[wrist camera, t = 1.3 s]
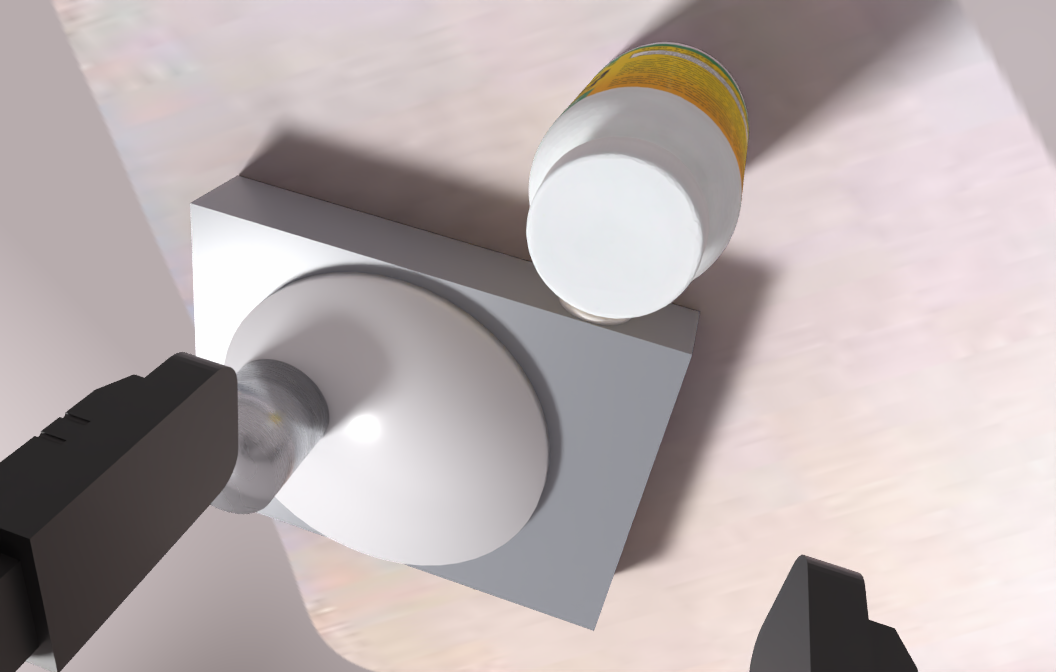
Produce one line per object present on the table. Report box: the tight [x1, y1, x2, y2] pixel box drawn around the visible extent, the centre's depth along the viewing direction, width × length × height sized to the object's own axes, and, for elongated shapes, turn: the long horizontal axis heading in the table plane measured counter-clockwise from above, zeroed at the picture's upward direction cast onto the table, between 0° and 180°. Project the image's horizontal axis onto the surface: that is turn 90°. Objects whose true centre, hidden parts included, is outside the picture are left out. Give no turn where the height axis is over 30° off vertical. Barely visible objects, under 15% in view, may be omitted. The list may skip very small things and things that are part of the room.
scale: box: [190, 176, 700, 631], centre depth 32 cm, size 18×14×4 cm
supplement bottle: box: [526, 42, 749, 319], centre depth 22 cm, size 5×5×10 cm
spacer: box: [210, 359, 329, 514], centre depth 30 cm, size 4×4×4 cm
